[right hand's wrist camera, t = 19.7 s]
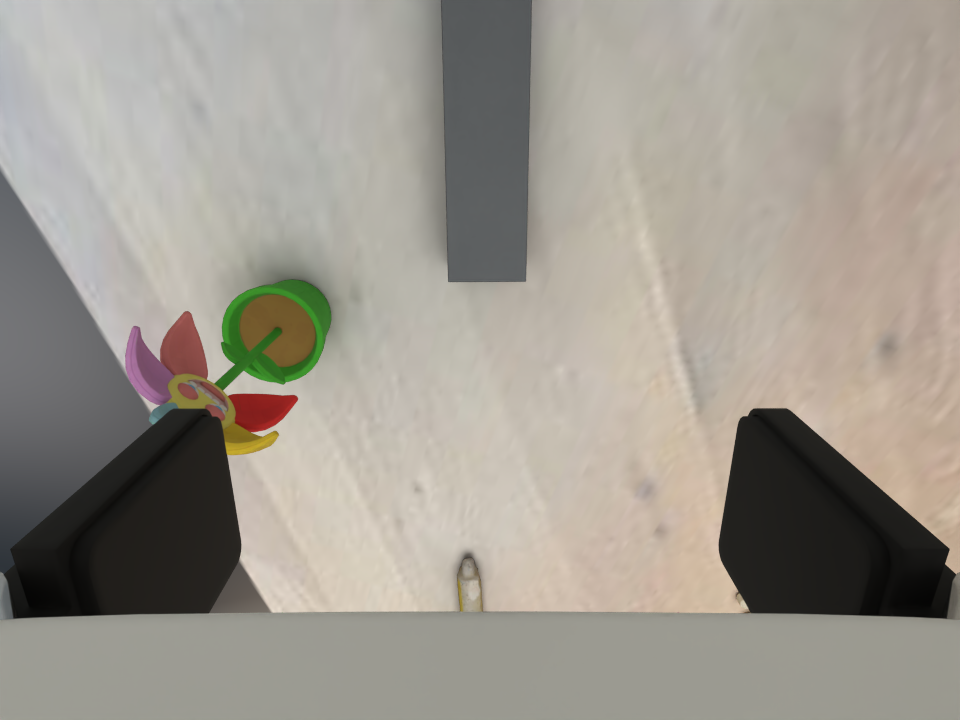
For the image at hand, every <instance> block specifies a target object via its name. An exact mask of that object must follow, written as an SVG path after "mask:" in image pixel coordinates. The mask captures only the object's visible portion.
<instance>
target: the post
mask: <svg viewBox="0 0 960 720" xmlns="http://www.w3.org/2000/svg"><path fill="white" fill-rule="evenodd" d="M441 9H442V49H443V90H444V130H445V170H446V211H447V251H448V282H525V281H526V255H527V206H528V158H529V109H530V60H531V11H532V0H441Z"/></svg>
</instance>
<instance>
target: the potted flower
mask: <svg viewBox="0 0 960 720" xmlns="http://www.w3.org/2000/svg"><path fill="white" fill-rule="evenodd" d="M330 323H331V311H330V307H329V304H328V302H327V300H326V298H325V297H324V295H323V294H322V293H321V292H320V291H319V290H318V289H317V288H315V287H314V286H313V285H311V284H309V283H306V282H303V281H300V280H284V281H281V282H278V283H275V284H272V285H264V286H259V287H256V288H253V289H250V290H248V291H246V292H244V293H242V294H240V295H239V296H238V297H237V298H235V299H234V300H233V301H232V302H231V304H230V305H229V307H228V308H227V310H226V312H225V315H224V317H223V324H222V336H223V340H224V342H221V345H222V350H223V353H224V354H225V356H226V357H227V358H228V360H230V361H231V362H232V363H234V364H235V365H234V366H233V367H232V368H231V369H230V370H229V371H228V372H226V373H225V374H224V375H223V376H222V377H221V378H220V379H219V380H218V381H217V382H216V383H212V382H210V381H209V380H207V376H208V369H207V363H206V358H205V354H204V350H203V346H202V343H201V340H200V337H199V334H198V332H197V329H196V327H195V324H194V321H193V318H192V315H191V313H190V312H188V311H185V312H184V313H183V314H182V315H181V316H180V318H179V319H178V320H177V321H176V322H175V324H174V325H173V326H172V327H171V328H170V329H169V331H168V332H167V334H166V336H165V337H164V339H163V342H162V346H161V349H160V361H161V362H160V361H159V360H158V359H157V358H156V357H155V356H154V355H153V354H152V353H151V351H150V350H149V349H148V347H147V346H146V345H145V343H144V341H143V340H142V337H141V332H140V328H139V327H137V326H133V328H132V330H131V333H130V337H129V340H128V344H127V349H126V355H125V361H126V371H127V374H128V377H129V380H130V382H131V383H132V384H133V386H134V387H135V388H136V390H137V391H138V392H139V393H140V394H141V395H142V396H144V397H145V398H146V399H148V400H149V401H150V402H152V403H155V404H157V405H160V406H159V407H157V408H155V409H154V410H153V411H152V413H151V415H150V418H149V421H150V422H151V423H152V424H153V425H154V424H155V423H156V422H157V421H158V420H159V419H161V418H162V417H163V416H164V415H165V414H166V413H167V412H169V411H170V410H172V409H173V408H203V409H207V410H209V411H210V413H211V415H212V416H216V417H218V418H220V420H221V423H222V427H223V433H224V439H225V445H226V452H227V455H241V454H249V453H253V452H256V451H260V450H262V449H264V448H267V447H269V446H271V445H272V444H273V443H274V442H275V441H276V439H277V437H278V436H279V434H278V432H277V431H273V432H271V433H269V434H267V435H266V436H264V437H261V436H258V435H255V434H253V433H251V432H258V431H263V430H266V429H268V428H270V427H272V426H274V425H276V424H277V423H278V422H280V421H281V420H282V419H283V418H284V417H285V416H286V415H287V413H288V412H289V411H290V410H291V408H292V407H293V406H294V405H295V403H296V402H297V401H298V397H297V396H295V395H285V396H281V395H270V394H232V395H229V396H227V395H226V394H225V393H224V392H223V390H224V389H225V388H226V387H227V386H228V385H229V384H230V383H231V382H232V381H233V380H234V379H235V378H236V377H237V376H238V375H239V374H240V373H241V372H242V371H245V372H247V373H248V374H250V375H251V376H254V377H256V378H258V379H260V380H264V381H268V382H276V383H279V384H285V383H286V382H289V381H293V380H296V379H298V378H300V377H302V376H304V375H306V374H307V373H308V372H309V371H310V370H312V369H313V367H314V366H315V365H316V363H317V362H318V360H319V357H320V355H321V353H322V351H323V348H324V344H325V337H326V335H327V332H328V330H329V328H330Z"/></svg>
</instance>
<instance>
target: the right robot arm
mask: <svg viewBox="0 0 960 720" xmlns="http://www.w3.org/2000/svg"><path fill="white" fill-rule="evenodd" d="M10 550H11V553H12V556H13V559H14V562H15V565H14V566H13V567H12V568H10V569H9V570H8V571H7V572H6V573H5V574H4V575H3V573H1V572H0V720H960V572H959V573H957V575H956V574H955V573H954V572H953V571H952V570H951V569H950V568H949V567H947V566H946V565H945V562H946V559H947V556H948V553H949V550H950V549H949V548H948V547H947V546H946V545H944V544H943V543H942V542H941V541H940V540H939V539H938V538H936V537H935V536H934V535H933V534H932V533H931V532H930V531H928V530H927V529H926V528H925V527H924V526H923V525H921V524H920V523H919V522H918V521H917V520H916V519H915V518H913V517H912V516H911V515H910V514H909V513H908V512H907V511H905V510H904V509H903V508H902V507H901V506H900V505H898V504H897V503H896V502H895V501H894V500H893V499H892V498H890V497H889V496H888V495H887V494H886V493H885V492H883V491H882V490H881V489H880V488H879V487H878V486H877V485H875V484H874V483H873V482H872V481H871V480H870V479H869V478H867V477H866V476H865V475H864V474H863V473H862V472H860V471H859V470H858V469H857V468H856V467H855V466H854V465H852V464H851V463H850V462H849V461H848V460H847V459H845V458H844V457H843V456H842V455H841V454H840V453H839V452H837V451H836V450H835V449H834V448H833V447H832V446H831V445H829V444H828V443H827V442H826V441H825V440H824V439H822V438H821V437H820V436H819V435H818V434H817V433H816V432H814V431H813V430H812V429H811V428H810V427H809V426H808V425H806V424H805V423H804V422H803V421H802V420H801V419H799V418H798V417H797V416H796V415H795V414H794V413H793V412H791V411H790V410H788V409H787V408H757V409H753V410H751V411H750V413H749V415H748V416H744V417H742V418H740V420H739V423H738V427H737V433H736V439H735V445H734V452H733V458H732V464H731V470H730V476H729V482H728V488H727V495H726V501H725V507H724V513H723V519H722V525H721V531H720V538H719V554H720V558H721V561H722V563H723V565H724V567H725V569H726V570H727V572H728V574H729V576H730V577H731V579H732V581H733V582H734V584H735V586H736V588H737V589H738V591H739V593H740V595H741V596H742V598H743V600H744V602H745V603H746V605H747V607H748V609H749V610H750V612H751V613H643V612H303V613H214V614H209V612H210V610H211V609H212V607H213V605H214V603H215V602H216V600H217V598H218V596H219V595H220V593H221V591H222V589H223V588H224V586H225V584H226V582H227V581H228V579H229V577H230V576H231V574H232V572H233V570H234V569H235V567H236V565H237V563H238V561H239V558H240V554H241V538H240V531H239V525H238V519H237V513H236V507H235V501H234V495H233V488H232V482H231V476H230V470H229V464H228V458H227V452H226V445H225V439H224V433H223V427H222V423H221V420H220V418H218V417H216V416H212V415H211V413H210V411H209V410H207V409H203V408H173V409H172V410H170V411H169V412H167V413H166V414H165V415H164V416H163V417H162V418H161V419H159V420H158V421H157V422H156V423H155V424H154V425H152V426H151V427H150V428H149V429H148V430H147V431H146V432H144V433H143V434H142V435H141V436H140V437H139V438H138V439H136V440H135V441H134V442H133V443H132V444H131V445H130V446H128V447H127V448H126V449H125V450H124V451H123V452H121V453H120V454H119V455H118V456H117V457H116V458H115V459H113V460H112V461H111V462H110V463H109V464H108V465H106V466H105V467H104V468H103V469H102V470H101V471H100V472H98V473H97V474H96V475H95V476H94V477H93V478H92V479H90V480H89V481H88V482H87V483H86V484H85V485H83V486H82V487H81V488H80V489H79V490H78V491H77V492H75V493H74V494H73V495H72V496H71V497H70V498H68V499H67V500H66V501H65V502H64V503H63V504H62V505H60V506H59V507H58V508H57V509H56V510H55V511H54V512H52V513H51V514H50V515H49V516H48V517H47V518H45V519H44V520H43V521H42V522H41V523H40V524H39V525H37V526H36V527H35V528H34V529H33V530H32V531H30V532H29V533H28V534H27V535H26V536H25V537H24V538H22V539H21V540H20V541H19V542H18V543H17V544H15V545H14V546H13V547H12V548H11V549H10Z"/></svg>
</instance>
